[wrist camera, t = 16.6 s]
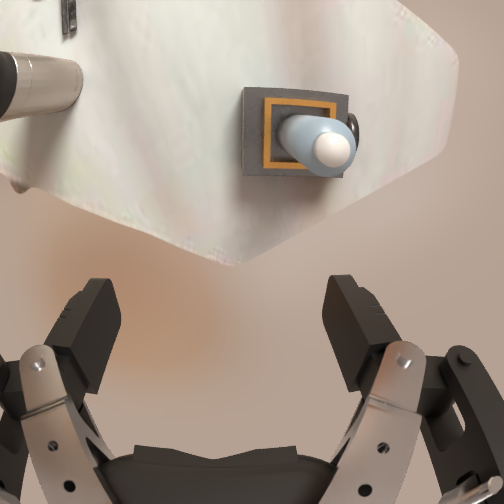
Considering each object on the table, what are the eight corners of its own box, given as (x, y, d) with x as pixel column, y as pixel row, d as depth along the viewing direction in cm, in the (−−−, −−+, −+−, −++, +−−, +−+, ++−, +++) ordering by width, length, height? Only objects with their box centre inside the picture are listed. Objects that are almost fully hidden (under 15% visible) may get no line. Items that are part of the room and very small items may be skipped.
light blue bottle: (276, 153, 37) (301, 180, 24) (276, 113, 34) (304, 116, 21) (316, 154, 37) (359, 182, 24) (318, 115, 34) (365, 122, 22)
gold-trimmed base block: (241, 166, 43) (244, 179, 36) (242, 90, 37) (244, 86, 30) (338, 169, 44) (357, 182, 37) (342, 97, 38) (364, 96, 31)
